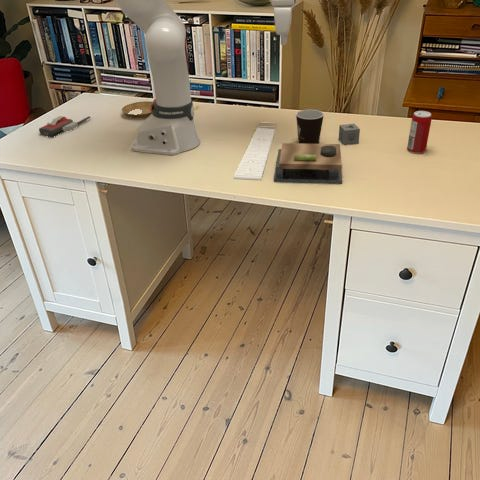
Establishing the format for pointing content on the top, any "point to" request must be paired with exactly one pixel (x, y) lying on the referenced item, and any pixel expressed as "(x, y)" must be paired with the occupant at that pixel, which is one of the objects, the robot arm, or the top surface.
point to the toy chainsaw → (59, 126)
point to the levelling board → (309, 151)
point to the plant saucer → (138, 105)
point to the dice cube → (349, 134)
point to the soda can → (419, 132)
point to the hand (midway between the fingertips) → (283, 44)
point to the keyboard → (256, 155)
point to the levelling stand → (306, 175)
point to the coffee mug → (309, 126)
